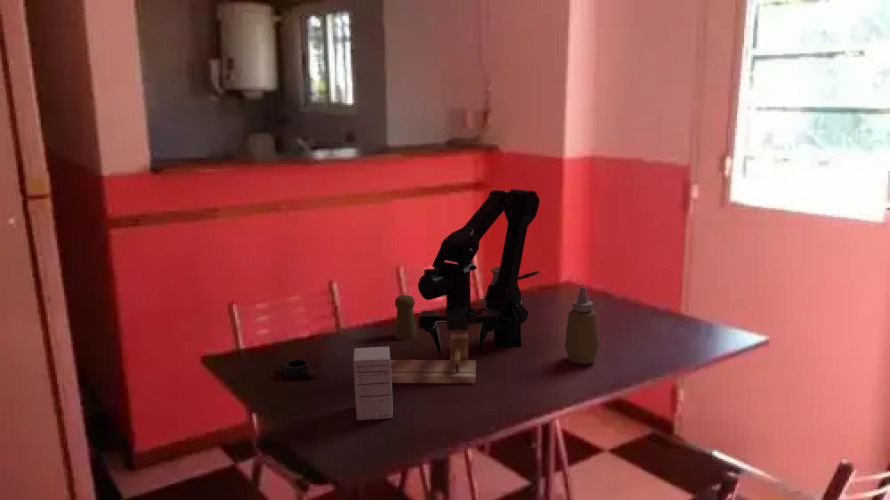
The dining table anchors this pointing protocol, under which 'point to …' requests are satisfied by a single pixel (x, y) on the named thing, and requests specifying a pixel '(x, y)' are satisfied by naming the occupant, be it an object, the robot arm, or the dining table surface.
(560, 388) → the dining table surface
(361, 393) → the supplement box
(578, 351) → the squeeze bottle
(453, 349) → the gauge
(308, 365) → the dark ring with tabs
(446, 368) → the board
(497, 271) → the coffee pot
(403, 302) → the cork
